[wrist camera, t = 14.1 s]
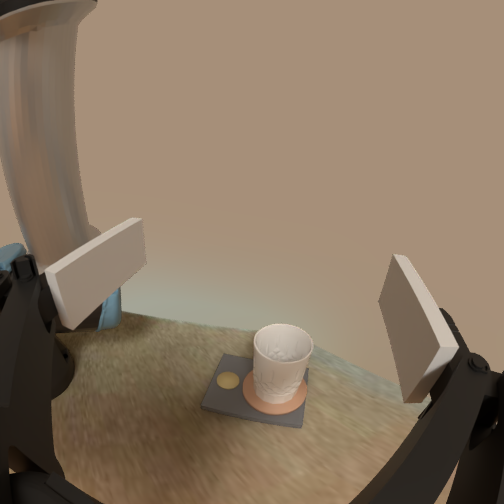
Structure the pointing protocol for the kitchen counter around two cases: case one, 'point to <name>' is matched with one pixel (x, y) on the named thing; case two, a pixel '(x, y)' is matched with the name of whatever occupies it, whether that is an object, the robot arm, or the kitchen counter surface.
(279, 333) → the white cup
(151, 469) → the kitchen counter surface
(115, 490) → the kitchen counter surface
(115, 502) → the kitchen counter surface
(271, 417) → the board
